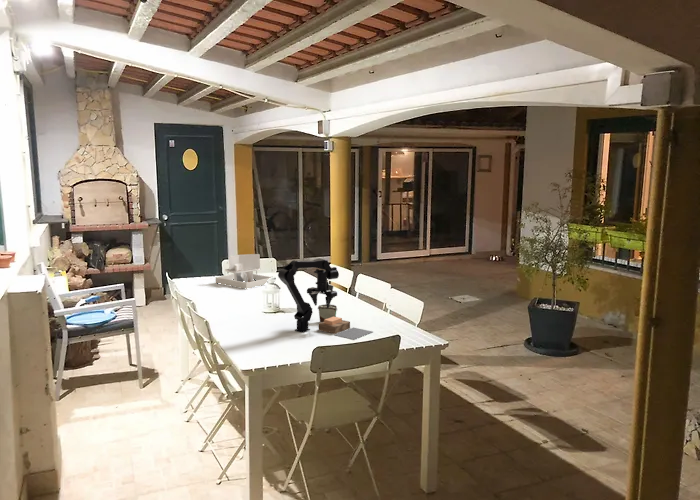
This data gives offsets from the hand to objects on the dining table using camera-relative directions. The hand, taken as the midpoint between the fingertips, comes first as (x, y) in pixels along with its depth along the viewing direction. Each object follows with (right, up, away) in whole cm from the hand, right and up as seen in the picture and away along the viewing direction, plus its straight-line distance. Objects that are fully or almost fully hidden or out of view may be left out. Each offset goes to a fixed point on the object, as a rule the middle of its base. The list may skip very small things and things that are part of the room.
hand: (321, 306), depth 326 cm
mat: (+19, -14, -13) cm, 26 cm away
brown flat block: (+8, -13, -4) cm, 15 cm away
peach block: (+7, -9, -4) cm, 12 cm away
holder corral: (-68, +6, +123) cm, 141 cm away
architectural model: (-68, +5, +123) cm, 141 cm away
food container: (+4, -10, +12) cm, 17 cm away
